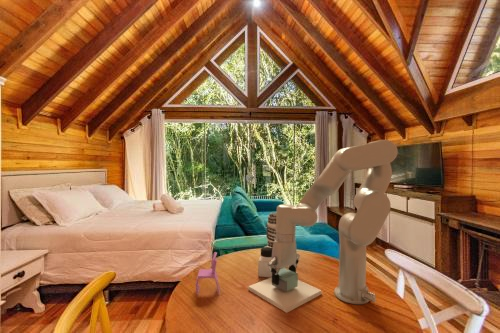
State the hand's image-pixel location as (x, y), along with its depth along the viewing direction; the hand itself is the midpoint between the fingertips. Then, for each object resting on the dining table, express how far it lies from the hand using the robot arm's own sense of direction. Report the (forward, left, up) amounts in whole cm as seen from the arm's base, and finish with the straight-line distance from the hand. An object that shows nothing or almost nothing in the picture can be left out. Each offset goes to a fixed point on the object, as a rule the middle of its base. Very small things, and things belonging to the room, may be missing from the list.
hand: (283, 280), depth 102 cm
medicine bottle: (+16, -6, -5) cm, 18 cm away
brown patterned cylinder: (+23, -18, -5) cm, 30 cm away
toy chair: (+19, +23, -5) cm, 30 cm away
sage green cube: (0, 0, -2) cm, 2 cm away
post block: (0, 0, -5) cm, 5 cm away
